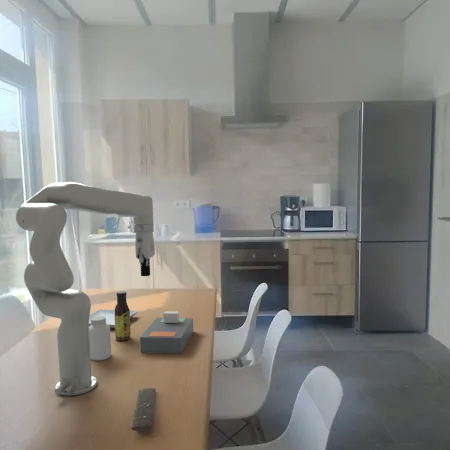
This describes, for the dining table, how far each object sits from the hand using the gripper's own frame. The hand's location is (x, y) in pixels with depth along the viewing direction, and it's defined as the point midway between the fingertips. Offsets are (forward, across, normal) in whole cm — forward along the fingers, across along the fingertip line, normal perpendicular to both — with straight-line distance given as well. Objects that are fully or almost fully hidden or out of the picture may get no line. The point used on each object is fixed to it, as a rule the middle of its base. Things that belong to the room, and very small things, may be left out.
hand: (145, 275), depth 166 cm
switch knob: (+23, +14, -6) cm, 27 cm away
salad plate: (+30, +31, +29) cm, 52 cm away
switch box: (+29, +8, -6) cm, 31 cm away
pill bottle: (+29, -9, +16) cm, 35 cm away
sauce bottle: (+29, +10, +14) cm, 34 cm away
